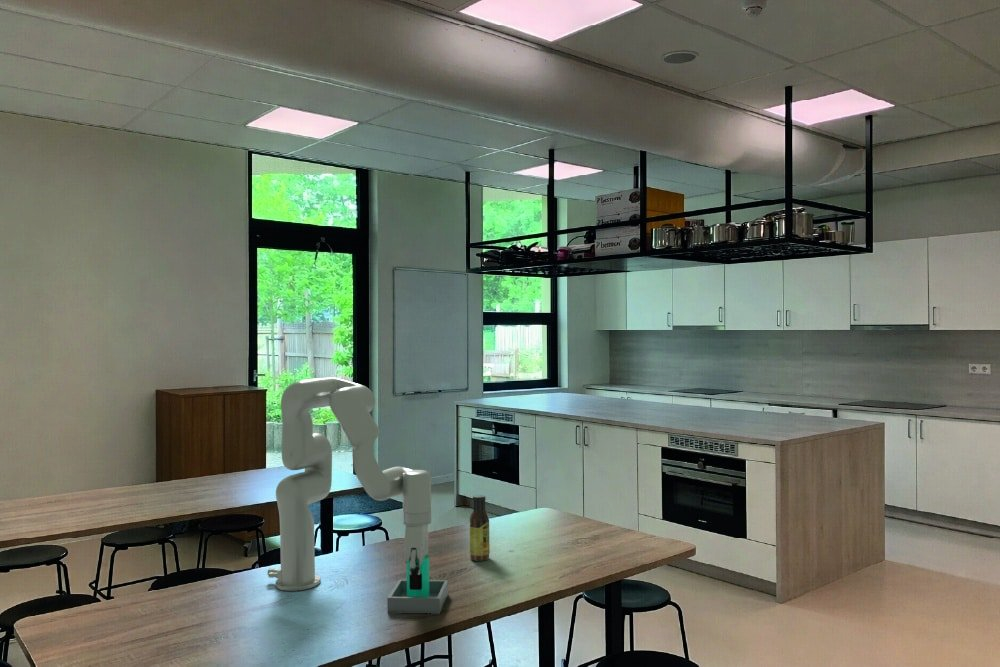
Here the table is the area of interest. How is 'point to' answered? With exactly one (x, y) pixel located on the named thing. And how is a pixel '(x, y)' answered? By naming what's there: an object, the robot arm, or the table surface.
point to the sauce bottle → (479, 530)
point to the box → (418, 598)
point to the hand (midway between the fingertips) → (417, 584)
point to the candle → (425, 580)
